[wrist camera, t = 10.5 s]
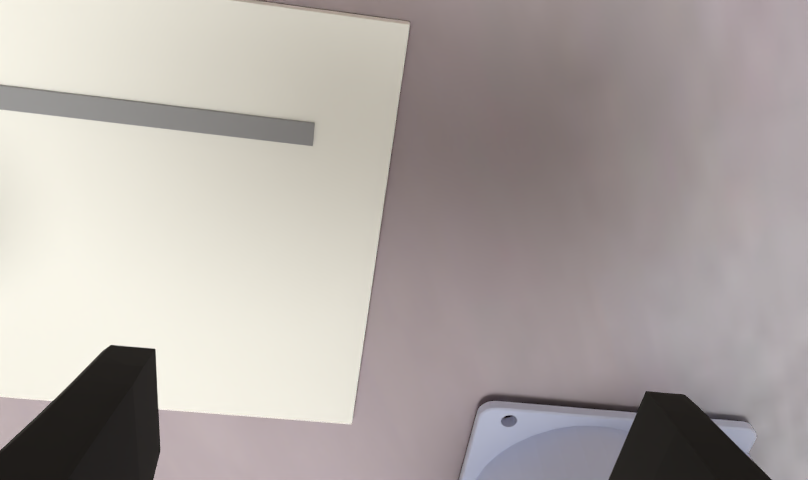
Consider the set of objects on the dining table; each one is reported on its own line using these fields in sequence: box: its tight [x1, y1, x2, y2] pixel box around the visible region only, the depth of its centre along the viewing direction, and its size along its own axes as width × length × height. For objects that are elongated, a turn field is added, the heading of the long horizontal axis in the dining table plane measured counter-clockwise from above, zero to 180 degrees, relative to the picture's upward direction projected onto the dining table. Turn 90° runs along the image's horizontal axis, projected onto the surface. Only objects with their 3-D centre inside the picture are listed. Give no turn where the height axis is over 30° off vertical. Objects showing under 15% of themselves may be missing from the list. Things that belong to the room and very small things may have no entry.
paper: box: [0, 0, 410, 424], centre depth 19 cm, size 16×13×1 cm
